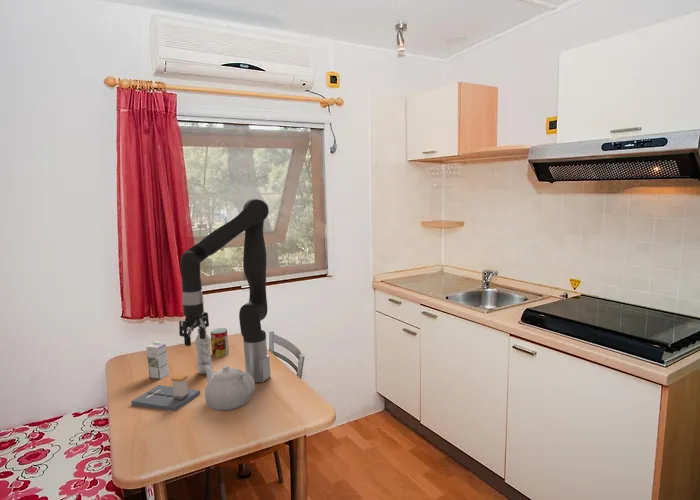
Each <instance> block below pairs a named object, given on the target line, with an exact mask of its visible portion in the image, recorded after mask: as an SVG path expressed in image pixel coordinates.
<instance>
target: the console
mask: <svg viewBox="0 0 700 500" xmlns="http://www.w3.org/2000/svg"><path fill="white" fill-rule="evenodd" d="M188 392H189V395H188V396H186V397H185V398H183V399H182V400H180V399H173V396H174V391H173V386H170V385H169V386H168V385H161V384H158V385H156V386H154V387H152V388H151V389H149V390H148V391H146V392H144V393H142V394H141V395H139V396H138V397H136V398H134V399H132V400H131V401H130V402H131V405H132V406H138V407H143V408H149V409H157V410H164V411H170V412H177V411H179V409H181V408H182V407H184V406H185V405H186V404H188V403H190V402H191V401H192V400H194V399H195V398H196V397H198V396H200V395H201V390H199V389H192V388H188Z"/></svg>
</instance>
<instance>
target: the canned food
mask: <svg viewBox="0 0 700 500" xmlns="http://www.w3.org/2000/svg"><path fill="white" fill-rule="evenodd" d="M209 333H210V340H211V342H210V346H211V353H212V354H211V355H212V356H214V358H223V357H226V356H228V355H229V354H230V349H229V338H228V337H229V336H228V329H227V328H222V327H218V328H215V329H211V330H210V332H209ZM212 356H211V357H212ZM222 356H223V357H222Z"/></svg>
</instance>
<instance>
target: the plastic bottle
mask: <svg viewBox="0 0 700 500" xmlns="http://www.w3.org/2000/svg"><path fill="white" fill-rule="evenodd" d="M199 330H200V329H199V328H197V336H196V337H195V341H194V343H195V346H196V351H197V352H196V353H197V367H196V368H197V371H198V373H199V374H201V375H207V374H206V371H205V370H204V369H203V368H204V367H206V366H210V368H211V369H212V371H213V370H214V369H213V368H214V365H213V360H212V356H211V355H212V354H211V336H209V335H208V334H207V333H208V332H207V328H206V329H205V333H206V336H205V339H200V333H199Z"/></svg>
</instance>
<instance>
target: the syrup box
mask: <svg viewBox="0 0 700 500" xmlns="http://www.w3.org/2000/svg"><path fill="white" fill-rule="evenodd" d="M166 344H167V343H166V342H157V341H156V342H152V343H150V344H148V345H147V346H146V347H145V348H146V355H147V365H148V374H149V376H148V377H149V378H150V379H155V380H161V379H163V378H165V377H166V376H168V375H169V372H170V371H169V364H168V362H169V361H168V354H167V345H166Z"/></svg>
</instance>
